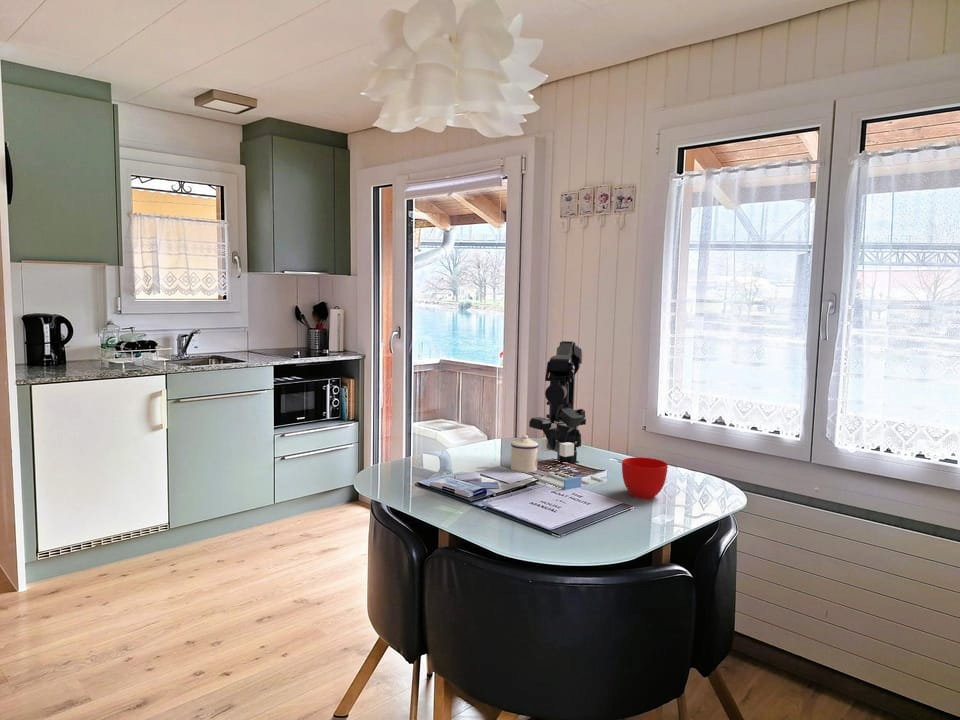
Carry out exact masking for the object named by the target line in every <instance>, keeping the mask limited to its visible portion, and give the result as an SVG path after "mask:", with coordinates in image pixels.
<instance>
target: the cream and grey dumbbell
mask: <svg viewBox="0 0 960 720" xmlns="http://www.w3.org/2000/svg"><path fill="white" fill-rule="evenodd" d="M540 441H541V443H540V446H541V447H540V450H542V451H545V452H549V451H553V452H556V453H557V452H559V455H561V456H564V457H567V456H573V455H574V444H573V443H570V442H566V443H562V442H558V441H555V449H554V450H552V449H551V447H550V445H549V442H548V440H547V438H546V437H542V438H541V440H540Z"/></svg>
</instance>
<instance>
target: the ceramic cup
mask: <svg viewBox="0 0 960 720" xmlns="http://www.w3.org/2000/svg"><path fill="white" fill-rule="evenodd" d="M621 471H622V472H621V473H622V479H623V480H622V481H623V483H624V486H625V487H626V489H627V491H628V492H629V493H630V495H631V496H632V497H633V498H636V499H642V500H652V499H655V497H656V496H657V495H658V494H659V493H660V492H661V491H662V489H663V487H664V486H665V482H666V480H667V474H668V463H667V462H665V461H663V460H660V459H657V458H652V457H639V456H638V457H637V456H635V457H627V458H624V459H622V460H621Z"/></svg>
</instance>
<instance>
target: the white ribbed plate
mask: <svg viewBox="0 0 960 720" xmlns="http://www.w3.org/2000/svg"><path fill="white" fill-rule="evenodd" d="M570 470H572V471H575V472H577V469H576V470H575V469H570ZM564 473H565V472H561V471H556V472H554V471H548V472H547V474H546V475H545V476H542V475H541V474H533V475H532V478H535V479H537V480H539V482H536V483H535V484H538V485H540V486H543V485H544V484H546V483H548V484H550V485H553V486H555V487H553V486H552V487H551V488H549V487H547V488H548V489H551V490H554V491H556V492H557V491H561V490H564V489H565V490H564V491H568V490H573V489H577V488H582V487H583V486H588V485H593V484H598V483H602V482H608V481H609V480H608V479H607V478H603V477H599V476H597V477H595V476H596V475H594V476H592V475H593V474H591V475H588V476H590V477H591V479H587V480H582V477H573V476H570V475H567V474H564ZM555 474H558V475H555ZM559 475H561V476H565V477H568V478H569V479H565V478H562V477H561V476H559ZM555 482H556V483H555ZM557 483H560V484H562V485H560V484H557ZM563 485H564V486H563ZM557 487H558V488H557ZM559 488H561V489H559ZM572 488H573V489H572Z"/></svg>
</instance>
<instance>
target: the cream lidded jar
mask: <svg viewBox="0 0 960 720" xmlns="http://www.w3.org/2000/svg"><path fill="white" fill-rule="evenodd" d="M510 446H511V453H510V454H511V457H510V459H511V460H510V470H512V471H513V470H515V471H514V472H517V471H518V472H517V473H534V472H536V471H537V470H538V453H539V451H538V450H539V443H538V442H537V441H534V440H533V439H531V438H529V436H528V435H527V434H523V435H521V437H520V438H518V439H517V440H514V441H512V442H511V443H510Z"/></svg>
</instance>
